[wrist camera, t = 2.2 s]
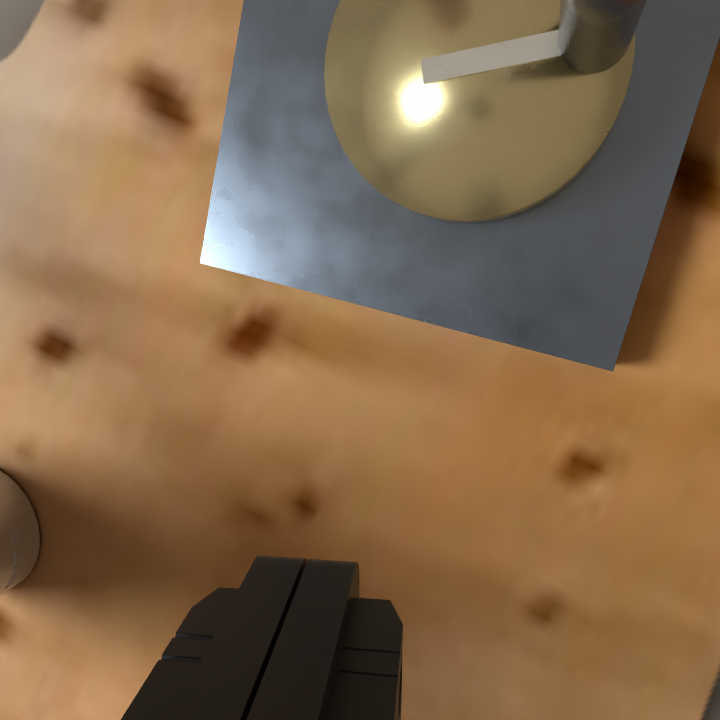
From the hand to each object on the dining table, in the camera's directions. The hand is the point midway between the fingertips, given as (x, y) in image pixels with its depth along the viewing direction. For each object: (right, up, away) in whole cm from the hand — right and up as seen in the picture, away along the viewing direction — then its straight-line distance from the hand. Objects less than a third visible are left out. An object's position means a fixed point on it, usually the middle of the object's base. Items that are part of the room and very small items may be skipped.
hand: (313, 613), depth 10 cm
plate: (+5, +17, +22) cm, 29 cm away
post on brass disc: (+6, +17, +20) cm, 27 cm away
